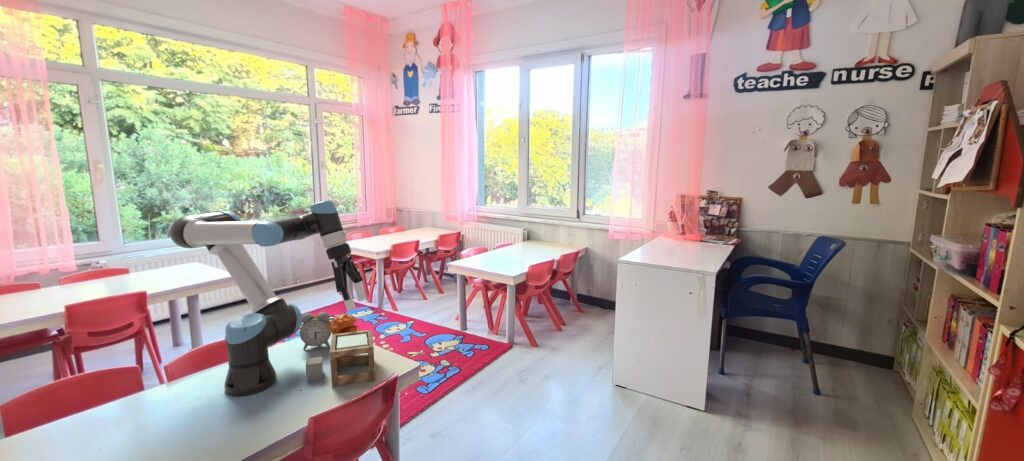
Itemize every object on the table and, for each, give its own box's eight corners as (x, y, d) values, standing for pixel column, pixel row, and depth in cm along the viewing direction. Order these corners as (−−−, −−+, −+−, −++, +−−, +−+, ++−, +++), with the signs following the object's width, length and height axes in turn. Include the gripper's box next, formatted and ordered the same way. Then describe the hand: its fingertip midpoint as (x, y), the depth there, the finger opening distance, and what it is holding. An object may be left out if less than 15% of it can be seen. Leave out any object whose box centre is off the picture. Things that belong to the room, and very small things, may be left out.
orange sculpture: (354, 363, 162) (351, 318, 159) (325, 362, 162) (322, 317, 159) (364, 350, 173) (362, 307, 170) (338, 349, 173) (335, 307, 170)
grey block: (306, 380, 149) (305, 364, 148) (308, 374, 154) (306, 358, 153) (322, 378, 151) (321, 362, 150) (323, 372, 155) (322, 356, 154)
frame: (331, 387, 145) (329, 352, 143) (334, 365, 160) (331, 334, 158) (375, 380, 150) (373, 346, 148) (373, 360, 165) (371, 329, 163)
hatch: (336, 350, 148) (336, 348, 147) (337, 339, 157) (337, 336, 157) (367, 346, 151) (367, 344, 151) (367, 335, 161) (366, 333, 161)
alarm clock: (300, 351, 171) (297, 316, 169) (304, 344, 178) (301, 310, 175) (331, 348, 174) (329, 313, 172) (334, 342, 181) (332, 308, 178)
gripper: (334, 245, 132) (357, 309, 134) (357, 239, 157) (376, 293, 159) (311, 253, 132) (334, 317, 133) (338, 245, 157) (357, 299, 158)
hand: (357, 304), depth 146 cm, fingers open, 13 cm apart
